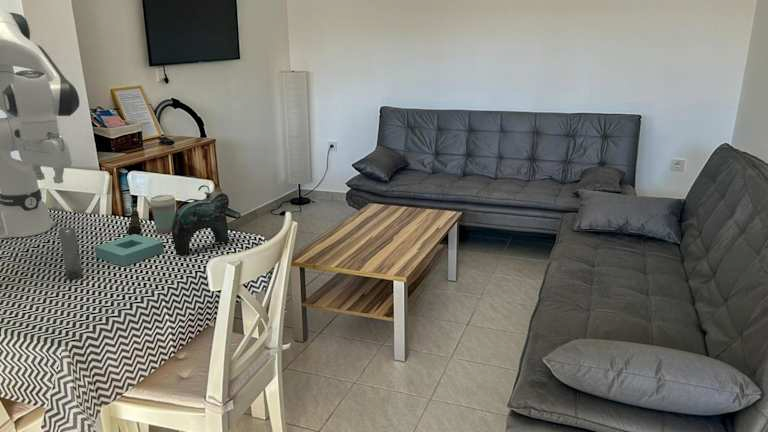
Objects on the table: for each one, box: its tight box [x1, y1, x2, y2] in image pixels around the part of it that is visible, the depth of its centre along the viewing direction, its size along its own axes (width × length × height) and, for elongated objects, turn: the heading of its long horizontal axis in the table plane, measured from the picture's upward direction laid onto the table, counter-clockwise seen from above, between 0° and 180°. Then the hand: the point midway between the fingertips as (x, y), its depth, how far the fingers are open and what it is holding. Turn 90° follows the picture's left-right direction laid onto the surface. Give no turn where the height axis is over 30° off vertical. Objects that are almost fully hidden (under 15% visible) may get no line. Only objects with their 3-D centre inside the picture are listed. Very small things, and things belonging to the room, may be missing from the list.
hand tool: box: [127, 209, 142, 236], centre depth 204 cm, size 19×4×5 cm, turn 19°
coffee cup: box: [149, 194, 177, 234], centre depth 200 cm, size 8×9×12 cm
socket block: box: [94, 234, 165, 268], centre depth 179 cm, size 14×14×4 cm
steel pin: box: [58, 226, 84, 281], centre depth 161 cm, size 4×4×14 cm
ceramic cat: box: [171, 184, 230, 257], centre depth 183 cm, size 20×6×20 cm, turn 141°
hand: (49, 181), depth 163 cm, fingers open, 8 cm apart
